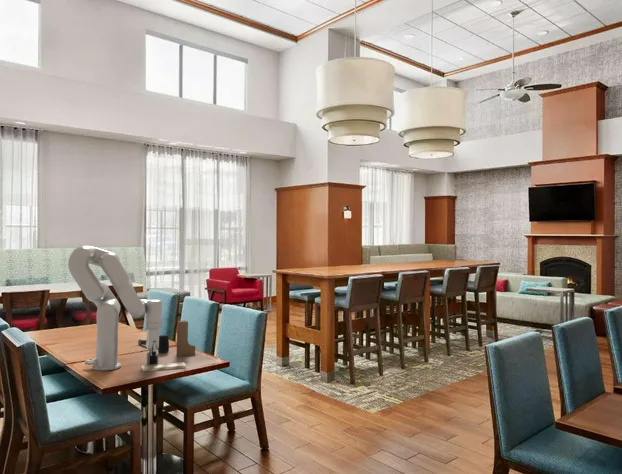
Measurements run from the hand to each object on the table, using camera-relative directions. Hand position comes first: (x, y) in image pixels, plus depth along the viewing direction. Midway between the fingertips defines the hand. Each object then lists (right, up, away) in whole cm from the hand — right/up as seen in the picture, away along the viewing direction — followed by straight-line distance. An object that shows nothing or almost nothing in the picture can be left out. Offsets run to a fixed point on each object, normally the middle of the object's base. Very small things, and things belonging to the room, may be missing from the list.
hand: (152, 362), depth 237 cm
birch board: (+7, -2, -4) cm, 8 cm away
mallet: (-12, -2, +35) cm, 37 cm away
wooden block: (+10, -2, +25) cm, 26 cm away
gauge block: (0, -1, 0) cm, 1 cm away
